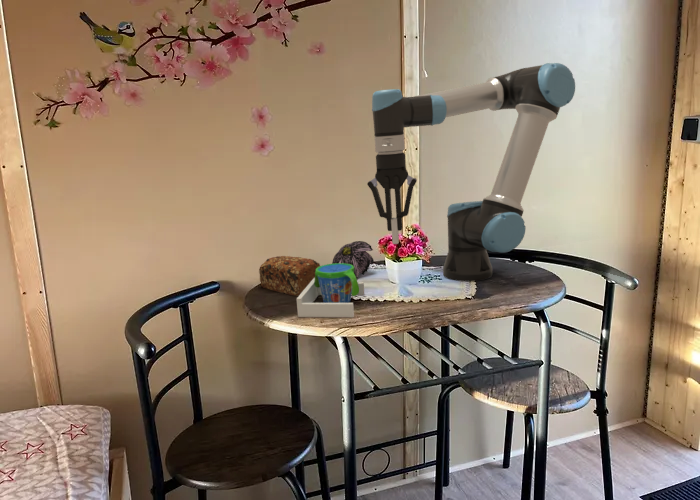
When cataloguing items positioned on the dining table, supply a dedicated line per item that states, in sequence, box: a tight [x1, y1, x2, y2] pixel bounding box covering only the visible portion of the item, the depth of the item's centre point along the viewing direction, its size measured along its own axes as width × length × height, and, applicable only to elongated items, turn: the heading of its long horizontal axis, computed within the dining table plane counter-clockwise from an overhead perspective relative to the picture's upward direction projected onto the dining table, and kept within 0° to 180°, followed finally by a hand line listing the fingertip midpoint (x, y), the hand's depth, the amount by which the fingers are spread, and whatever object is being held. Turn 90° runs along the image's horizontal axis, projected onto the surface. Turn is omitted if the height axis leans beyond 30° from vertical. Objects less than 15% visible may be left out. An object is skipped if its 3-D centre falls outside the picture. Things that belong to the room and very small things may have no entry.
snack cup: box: [314, 263, 359, 303], centre depth 151 cm, size 16×10×10 cm
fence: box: [296, 278, 365, 318], centre depth 150 cm, size 15×20×5 cm
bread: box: [258, 255, 321, 297], centre depth 167 cm, size 19×11×10 cm, turn 45°
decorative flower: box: [331, 240, 374, 280], centre depth 179 cm, size 15×12×15 cm
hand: (395, 242), depth 145 cm, fingers closed
